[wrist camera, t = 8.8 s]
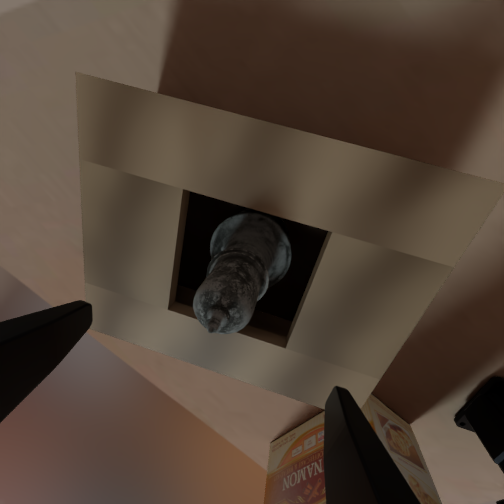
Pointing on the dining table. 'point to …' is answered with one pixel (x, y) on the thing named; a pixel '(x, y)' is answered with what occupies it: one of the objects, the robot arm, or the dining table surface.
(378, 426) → the coffeecake box
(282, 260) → the grey chess piece
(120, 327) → the beige rectangular hollow block
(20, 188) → the dining table surface
